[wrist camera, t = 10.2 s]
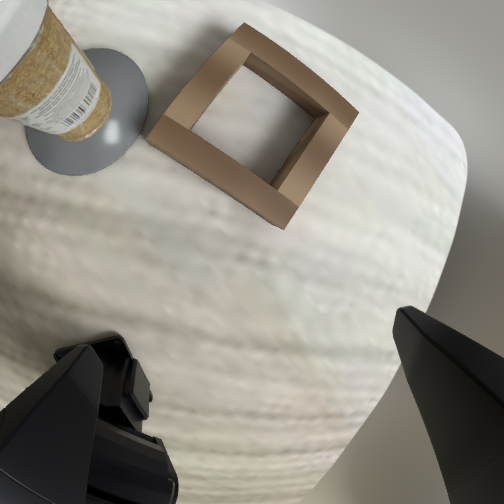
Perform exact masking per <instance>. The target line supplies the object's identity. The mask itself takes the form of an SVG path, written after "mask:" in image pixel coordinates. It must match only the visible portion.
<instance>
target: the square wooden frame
mask: <svg viewBox="0 0 504 504" xmlns="http://www.w3.org/2000/svg"><path fill="white" fill-rule="evenodd" d="M242 65H244V66H246V67H247V68H249V69H250V70H252V71H253V72H255V73H256V74H257V75H259V76H260V77H262V78H263V79H265V80H266V81H267V82H269V83H270V84H271V85H273V86H274V87H276V88H277V89H278V90H280V91H281V92H282V93H284V94H285V95H286V96H287V97H289V98H290V99H291V100H293V101H294V102H295V103H296V104H298V105H299V106H300V107H301V108H303V109H304V110H305V111H306V112H308V113H309V114H310V115H311V116H312V117H314V118H315V119H314V121H313V122H312V124H311V125H310V127H309V128H308V130H307V131H306V132H305V134H304V135H303V137H302V138H301V140H300V141H299V143H298V144H297V146H296V147H295V149H294V150H293V151H292V153H291V154H290V156H289V157H288V159H287V160H286V162H285V163H284V165H283V166H282V168H281V169H280V171H279V172H278V174H277V175H276V177H275V178H274V180H273V181H272V183H271V184H270V185H269V184H267V183H266V182H265V181H263V180H262V179H261V178H259V177H258V176H256V175H255V174H254V173H252V172H251V171H249V170H248V169H246V168H245V167H244V166H242V165H241V164H239V163H238V162H236V161H235V160H233V159H232V158H231V157H229V156H228V155H226V154H225V153H223V152H222V151H220V150H219V149H217V148H216V147H214V146H213V145H211V144H210V143H208V142H207V141H205V140H204V139H202V138H201V137H199V136H198V135H196V134H195V133H193V132H191V131H190V130H191V129H192V127H193V126H194V125H195V123H196V122H197V121H198V119H199V118H200V117H201V115H202V114H203V113H204V111H205V110H206V109H207V107H208V106H209V105H210V104H211V102H212V101H213V100H214V98H215V97H216V96H217V95H218V93H219V92H220V91H221V90H222V89H223V87H224V86H225V85H226V84H227V82H228V81H229V80H230V79H231V78H232V77H233V75H234V74H235V73H236V72H237V71H238V70H239V68H240V67H241V66H242ZM358 114H359V112H358V111H357V110H356V109H355V108H354V107H353V106H352V105H351V104H350V103H349V102H348V101H347V100H346V99H344V98H343V97H342V96H341V95H340V94H339V93H338V92H337V91H336V90H334V89H333V88H332V87H331V86H330V85H329V84H328V83H326V82H325V81H324V80H323V79H322V78H320V77H319V76H318V75H317V74H316V73H314V72H313V71H312V70H311V69H309V68H308V67H307V66H306V65H304V64H303V63H302V62H301V61H299V60H298V59H297V58H295V57H294V56H293V55H291V54H290V53H289V52H287V51H286V50H285V49H283V48H282V47H280V46H279V45H278V44H276V43H275V42H273V41H272V40H270V39H269V38H268V37H266V36H265V35H263V34H262V33H260V32H258V31H257V30H255V29H254V28H252V27H251V26H249V25H248V24H246V23H243V24H242V25H241V26H240V27H239V28H238V29H237V30H236V31H235V32H234V33H233V34H232V35H231V36H230V37H229V38H228V39H227V40H226V41H225V42H224V43H223V44H222V45H221V46H220V47H219V48H218V49H217V50H216V51H215V53H214V54H213V55H212V56H211V57H210V58H209V59H208V60H207V61H206V62H205V64H204V65H203V66H202V67H201V68H200V69H199V70H198V72H197V73H196V74H195V75H194V76H193V77H192V79H191V80H190V81H189V82H188V83H187V85H186V86H185V87H184V88H183V89H182V91H181V92H180V93H179V94H178V96H177V97H176V98H175V99H174V101H173V102H172V103H171V105H170V106H169V107H168V109H167V110H166V111H165V113H164V114H163V115H162V117H161V118H160V119H159V121H158V122H157V123H156V125H155V126H154V128H153V129H152V130H151V132H150V133H149V135H148V136H147V138H146V140H147V141H148V143H149V144H150V145H152V146H153V147H155V148H157V149H158V150H160V151H161V152H163V153H165V154H166V155H168V156H169V157H171V158H172V159H174V160H176V161H177V162H179V163H180V164H182V165H183V166H185V167H186V168H188V169H190V170H191V171H193V172H194V173H196V174H197V175H199V176H200V177H202V178H203V179H205V180H206V181H208V182H209V183H211V184H213V185H214V186H216V187H217V188H219V189H220V190H222V191H223V192H225V193H226V194H228V195H229V196H231V197H232V198H234V199H235V200H237V201H238V202H240V203H241V204H243V205H244V206H245V207H247V208H248V209H250V210H251V211H253V212H254V213H256V214H257V215H259V216H260V217H262V218H263V219H265V220H266V221H267V222H269V223H270V224H272V225H274V226H276V227H278V228H280V229H283V230H284V229H285V228H286V226H287V224H288V223H289V221H290V220H291V218H292V217H293V215H294V214H295V212H296V211H297V209H298V208H299V206H300V205H301V203H302V201H303V200H304V198H305V197H306V195H307V194H308V192H309V191H310V189H311V188H312V186H313V184H314V183H315V181H316V180H317V178H318V177H319V175H320V174H321V172H322V170H323V169H324V167H325V166H326V164H327V163H328V161H329V159H330V158H331V156H332V155H333V153H334V152H335V150H336V148H337V147H338V145H339V144H340V142H341V141H342V139H343V137H344V136H345V134H346V133H347V131H348V130H349V128H350V126H351V125H352V123H353V122H354V120H355V118H356V117H357V115H358Z"/></svg>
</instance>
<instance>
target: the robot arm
mask: <svg viewBox="0 0 504 504" xmlns="http://www.w3.org/2000/svg"><path fill="white" fill-rule="evenodd" d="M393 338H394V341H395V344H396V347H397V350H398V353H399V356H400V359H401V363H402V366H403V369H404V372H405V375H406V379H407V382H408V384H409V387H410V389H411V391H412V394H413V396H414V398H415V401H416V404H417V406H418V408H419V411H420V414H421V416H422V419H423V421H424V424H425V427H426V429H427V432H428V435H429V437H430V440H431V443H432V446H433V449H434V452H435V455H436V457H437V461H438V464H439V467H440V470H441V473H442V476H443V479H444V483H445V486H446V489H447V492H448V497H449V500H450V504H504V358H503V357H501V356H499V355H498V354H496V353H494V352H493V351H491V350H489V349H488V348H486V347H484V346H482V345H480V344H479V343H477V342H475V341H474V340H472V339H470V338H469V337H467V336H465V335H463V334H462V333H460V332H458V331H456V330H455V329H453V328H451V327H449V326H447V325H446V324H444V323H442V322H440V321H438V320H437V319H435V318H433V317H431V316H429V315H428V314H426V313H424V312H422V311H420V310H419V309H417V308H415V307H413V306H405V307H400V308H398V309H397V311H396V316H395V321H394V326H393ZM116 341H119V342H120V343H121V344H117V343H116ZM58 355H60V356H61V357H59V356H58ZM54 358H55V360H56V362H57V363H56V364H55V365H54V366H53V367H51V368H50V369H49V370H48V371H47V372H45V373H44V374H43V375H42V376H41V377H39V378H38V379H37V380H36V381H35V382H34V383H32V384H31V385H30V386H29V387H26V389H25V390H24V391H23V392H22V393H21V394H20V395H18V396H17V397H16V398H15V399H14V400H13V401H12V402H10V403H9V404H8V405H7V406H6V408H4V409H2V410H1V411H0V504H176V500H177V496H178V487H179V484H178V477H177V474H176V472H175V470H174V468H173V465H172V463H171V461H170V458H169V456H168V454H167V451H166V449H165V447H164V444H163V442H162V439H159V438H157V437H151V436H148V435H146V434H144V433H142V420H147V418H148V417H149V402H151V401H152V399H153V395H152V393H151V391H150V383H149V381H148V379H147V378H146V376H145V374H144V372H143V370H142V368H141V366H140V364H139V362H138V360H136V359H135V358H133V356H132V354H131V352H130V350H129V348H128V346H127V344H126V342H125V340H124V338H123V337H121V336H113V337H109V338H105V339H101V340H96V341H92V342H88V343H84V344H79V345H75V346H71V347H66V348H62V349H57V350H56V351H55V353H54Z"/></svg>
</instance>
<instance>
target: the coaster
mask: <svg viewBox="0 0 504 504" xmlns="http://www.w3.org/2000/svg"><path fill="white" fill-rule="evenodd" d="M83 52H84V54H85V55H86V57H87V58H88V59H89V61H90V62H91V64H92V65H93V67H94V69H95V72H96V74H97V75H98V77H99V78H100V79H101V80H102V81H104V82H105V84H106V85H107V86H108V87H109V89H110V91H111V97H112V107H111V112H110V115H109V117H108V119H107V121H106V122H105V124H104V125H103V126H102V127H101V129H100V130H99V131H98V132H97V133H95V134H94V135H93V136H91V137H90V138H88V139H85V140H82V141H78V142H68V141H65V140H63V139H61V138H59V137H58V136H57V135H55V134H49V133H46V132H43V131H40V130H37V129H35V128H32V127H29V126H26V136H27V141H28V144H29V147H30V149H31V151H32V153H33V155H34V156H35V158H36V159H37V160H38V161H39V162H40V163H41V164H42V165H43V166H44V167H46V168H47V169H49V170H51V171H53V172H55V173H58V174H62V175H68V176H81V175H87V174H91V173H95V172H97V171H100V170H102V169H104V168H106V167H107V166H109V165H111V164H112V163H114V162H115V161H116V160H118V159H119V158H120V157H121V156H122V155H123V154H124V153H125V152H126V151H127V150H128V149H129V148H130V147H131V145H132V144H133V143H134V141H135V140H136V138H137V137H138V135H139V133H140V131H141V129H142V127H143V124H144V122H145V118H146V115H147V109H148V90H147V86H146V82H145V78H144V76H143V74H142V72H141V70H140V69H139V67H138V66H137V65H136V63H135V62H134V61H133V60H131V59H130V58H129V57H128V56H126V55H124V54H122V53H120V52H118V51H115V50H110V49H101V48H99V49H89V50H84V51H83Z"/></svg>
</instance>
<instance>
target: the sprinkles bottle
mask: <svg viewBox="0 0 504 504" xmlns="http://www.w3.org/2000/svg"><path fill="white" fill-rule="evenodd" d="M111 107H112V97H111V91H110V89H109V87H108V86H107V85H106V84H105V82H104V81H102V80H101V79H100V78H99V77H98V75H97V74H96V72H95V69H94V67H93V65H92V64H91V62H90V61H89V59H88V58H87V57H86V55H85V54H84V52H83V51H82V49H81V48H80V47H79V46H78V45H76V43H75V42H74V40H73V39H72V38H71V36H70V35H69V33H68V32H67V31H66V29H65V28H64V27H63V25H62V23H61V22H60V21H59V20H58V19H57V17H56V16H55V15H54V13H53V12H52V10H51V8H50V7H49V5H48V0H0V116H1V117H3V118H6V119H9V120H12V121H15V122H18V123H21V124H24V125H26V126H29V127H32V128H35V129H37V130H40V131H43V132H46V133H49V134H55V135H57V136H58V137H59V138H61V139H63V140H65V141H68V142H78V141H82V140H85V139H88V138H90V137H91V136H93V135H94V134H95V133H97V132H98V131H99V130H100V129H101V127H102V126H103V125H104V124H105V122H106V121H107V119H108V117H109V115H110V112H111Z"/></svg>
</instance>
